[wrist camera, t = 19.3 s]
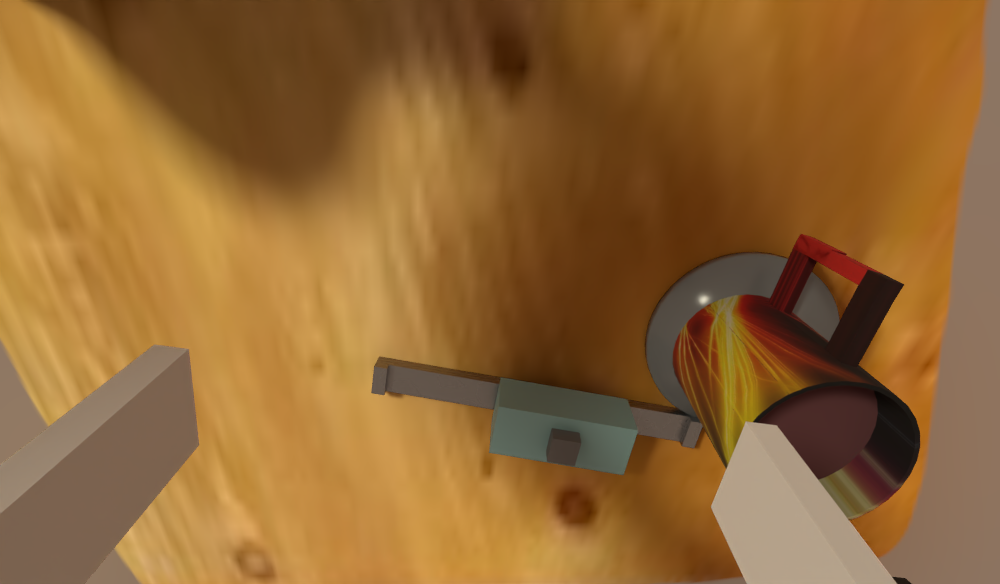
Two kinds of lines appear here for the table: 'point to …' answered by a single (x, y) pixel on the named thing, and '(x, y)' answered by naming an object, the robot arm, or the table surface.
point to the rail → (485, 390)
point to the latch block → (562, 426)
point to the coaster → (716, 283)
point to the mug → (803, 380)
